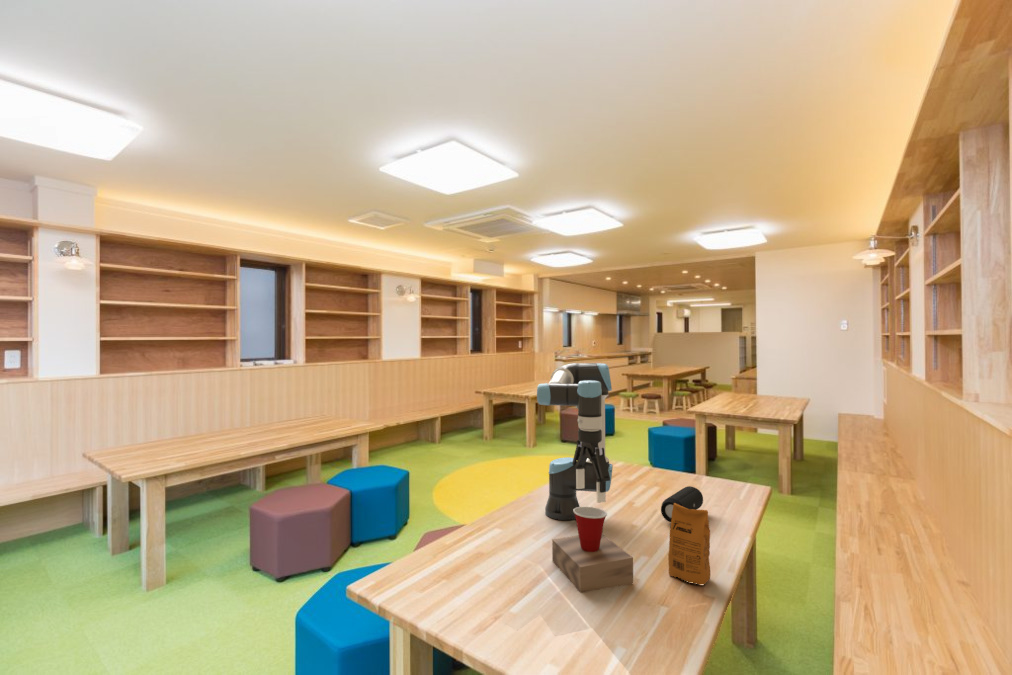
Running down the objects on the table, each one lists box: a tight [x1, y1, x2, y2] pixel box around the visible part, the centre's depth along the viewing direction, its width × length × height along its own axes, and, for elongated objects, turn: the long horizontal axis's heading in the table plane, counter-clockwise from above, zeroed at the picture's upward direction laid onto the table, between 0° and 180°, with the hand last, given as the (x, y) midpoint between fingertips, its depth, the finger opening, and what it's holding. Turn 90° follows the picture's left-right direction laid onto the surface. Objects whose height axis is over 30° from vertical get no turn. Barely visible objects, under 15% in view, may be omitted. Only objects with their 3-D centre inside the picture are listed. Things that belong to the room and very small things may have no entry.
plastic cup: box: [573, 506, 608, 552], centre depth 146 cm, size 11×11×12 cm
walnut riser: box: [551, 533, 634, 593], centre depth 146 cm, size 20×18×8 cm
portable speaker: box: [660, 485, 704, 523], centre depth 194 cm, size 26×10×10 cm, turn 138°
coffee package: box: [667, 503, 711, 585], centre depth 144 cm, size 10×12×22 cm
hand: (590, 495), depth 146 cm, fingers open, 13 cm apart
